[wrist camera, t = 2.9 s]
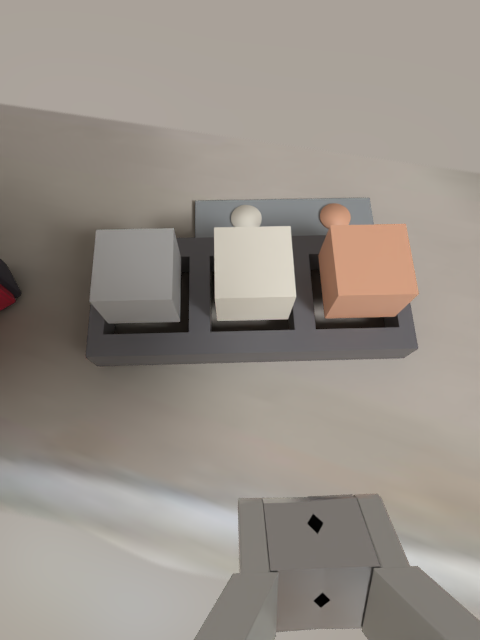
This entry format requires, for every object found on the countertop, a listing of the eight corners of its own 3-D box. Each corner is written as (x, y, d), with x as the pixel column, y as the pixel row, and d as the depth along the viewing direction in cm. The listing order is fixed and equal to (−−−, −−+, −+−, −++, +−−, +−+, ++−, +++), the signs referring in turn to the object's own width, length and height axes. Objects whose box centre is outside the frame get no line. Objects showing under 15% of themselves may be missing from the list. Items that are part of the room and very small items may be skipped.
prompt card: (367, 200, 34) (370, 196, 34) (374, 239, 33) (376, 235, 33) (195, 203, 34) (195, 199, 33) (195, 243, 33) (195, 239, 32)
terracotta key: (384, 254, 29) (405, 223, 25) (394, 316, 28) (418, 293, 24) (318, 255, 29) (330, 225, 25) (324, 318, 27) (338, 295, 24)
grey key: (181, 258, 29) (173, 228, 25) (180, 321, 27) (171, 299, 24) (113, 259, 29) (96, 229, 25) (108, 323, 27) (89, 301, 23)
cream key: (283, 256, 29) (290, 226, 25) (287, 319, 27) (296, 296, 24) (216, 257, 29) (213, 227, 25) (217, 321, 27) (214, 298, 24)
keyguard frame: (385, 250, 33) (397, 233, 30) (403, 357, 30) (418, 348, 28) (106, 256, 32) (96, 239, 30) (97, 366, 29) (85, 357, 27)
